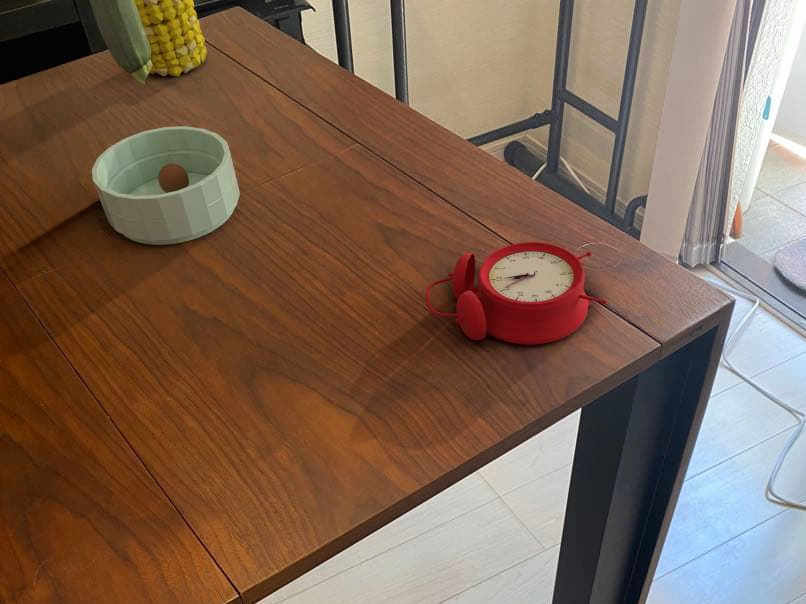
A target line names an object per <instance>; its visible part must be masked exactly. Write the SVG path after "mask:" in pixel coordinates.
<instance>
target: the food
mask: <svg viewBox="0 0 806 604" xmlns="http://www.w3.org/2000/svg"><path fill="white" fill-rule="evenodd" d="M134 1H135V4H136V7H137V9H138V12H139V16H140V19H141V22H142V25H143V28H144V31H145V34H146V36H147V39H148V42H149V45H150V49H151V58H150V60H151V62H152V68H151V69H150V72H149V73H148V74H151V75H155V74H156V73H157V74H158V75H160V76H163V77H166V76H167V75H170V76H171V77H179V76H180V75H181V74H182V72H183V74H186V73H188V72H190V71H192V70H193V69H195V68H197V67H199V66H200V65H201V63H204V61H205V60H206V56H207V53H208V51H207V47H206V46H205V41H206V38H205V37H204V36H203V34H202V30H201V26H200V21H199V20H198V14H197V12H196V10H195V3H194V0H134Z"/></svg>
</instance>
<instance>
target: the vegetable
mask: <svg viewBox="0 0 806 604" xmlns="http://www.w3.org/2000/svg"><path fill="white" fill-rule="evenodd" d="M89 4H90V6H91V9H92V12H93V16H94V19H95V22H96V25H97V27H98V30H99V33H100V35H101V37H102V39H103V41H104V43H105V45H106V48H107V49H108V51H109V53H110V55H111V56H112V58H113V60H114V62H115V63H116V64H117V66H119V67H120V68H121V69H122V70H124V71H125V72H127V73H128V74H130V75H131V76H132V77H133V78H134V79H135V80H136V81H137V82H138V83H140V84H143V85H145V83H146V82H145V81H146V80H147V78H148V76H149V74H150V73H149V72H150V69H151V68H152V62H151V60H150V58H151V49H150V45H149V42H148V39H147V36H146V34H145V31H144V28H143V25H142V22H141V19H140V16H139V12H138V9H137V7H136V4H135V1H134V0H89Z"/></svg>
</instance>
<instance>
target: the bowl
mask: <svg viewBox="0 0 806 604" xmlns="http://www.w3.org/2000/svg"><path fill="white" fill-rule="evenodd" d="M171 163H173V164H177V165H180V166H181V167H182V168H184V170H185V171H186V172H187V174H188V177H189V185H188V187H186V188H183V189H181V190H178V191H174V192H169V193H166V192H164V191H163V190H162V188H161V187H160V185H159V181H158V175H159V171H160V170H161V168H162V167H163V166H165V165H167V164H171ZM91 178H92V182H93V185H94V189H95V190H96V193H97V195H98V198H99V201H100V203H101V206H102V209H103V211H104V215H105V217H106V219H107V221H108V224H110V226H111V227H112V228H113V229H114V230H115V231H116V232H117V233H119V234H121V235H123V236H124V237H125V238H127V239H129V240H131V241H133V242H137V243H140V244H144V245H154V246H155V245H156V246H162V245H163V246H164V245H165V246H166V245H175V244H180V243H186V242H190V241H192V240H195V239H199V238H201V237H203V236H206V235H208V234H210V233H212V232H214V231H215V230H216V229H218V228H220V227H221V226H222V225H224V224H225V223H226V222H227V221H228V220H229V219H230V218H231V216H232V214H233V213H234V211H235V209H236V208H237V205H238V202H239V200H240V199H239V198H240V196H241V193H240V188H239V184H238V179H237V176H236V170H235V167H234V163H233V159H232V154H231V151H230V147H229V144H228V141H226V140H225V139H224V138H223V137H222V136H221V135H220V134H218V133H216V132H214V131H211V130H209V129H205V128H201V127H194V126H186V125H184V126H183V125H182V126H181V125H179V126H165V127H163V126H162V127H159V128H153V129H149V130H144V131H141V132H138V133H135V134H132V135H130V136H127V137H125V138H123V139H122V140H120V141H118V142H116V143H113V144H112V145H111V146H109V147H108V148H107V149H105V150H104V151H103V152H102V153H101V154H100V155H99V156H97V158H96V160H95V162H94V163H93V166H92V168H91Z"/></svg>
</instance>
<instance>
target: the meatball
mask: <svg viewBox="0 0 806 604" xmlns="http://www.w3.org/2000/svg"><path fill="white" fill-rule="evenodd" d="M158 181H159V185H160V187H161V188H162V190H163V191H164V192H166V193H169V192H174V191H178V190H181V189H183V188H186V187H188V185H189V177H188V174H187V172H186V171H185V170H184V168H182V167H181V166H180V165H177V164H173V163H171V164H167V165H165V166H163V167H162V168H161V170H160V171H159V175H158Z"/></svg>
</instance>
